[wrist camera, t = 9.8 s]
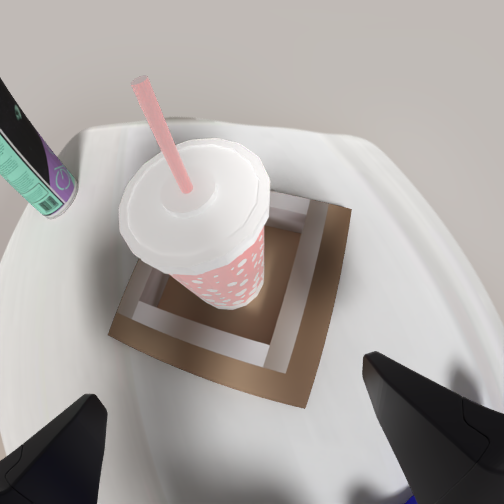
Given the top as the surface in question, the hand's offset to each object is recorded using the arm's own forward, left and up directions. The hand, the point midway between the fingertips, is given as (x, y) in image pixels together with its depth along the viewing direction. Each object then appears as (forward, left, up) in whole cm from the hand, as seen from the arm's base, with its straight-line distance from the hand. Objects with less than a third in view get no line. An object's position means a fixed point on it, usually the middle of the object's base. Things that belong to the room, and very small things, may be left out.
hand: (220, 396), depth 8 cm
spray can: (+25, -9, -10) cm, 29 cm away
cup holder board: (+3, -7, -9) cm, 12 cm away
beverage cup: (+3, -6, -9) cm, 11 cm away
